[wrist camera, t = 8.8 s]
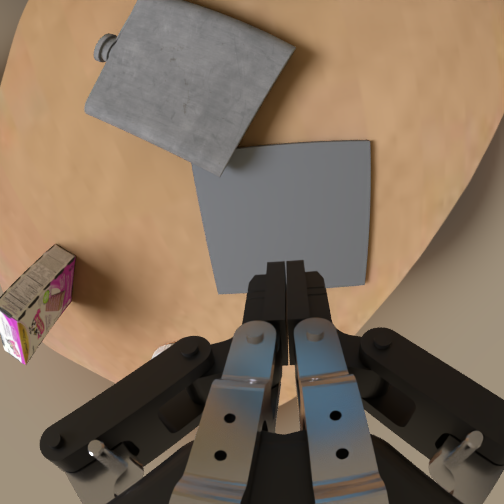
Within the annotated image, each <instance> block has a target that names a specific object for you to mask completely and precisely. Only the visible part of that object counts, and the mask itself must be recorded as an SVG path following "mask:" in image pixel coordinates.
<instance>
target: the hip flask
mask: <svg viewBox="0 0 504 504" xmlns="http://www.w3.org/2000/svg"><path fill="white" fill-rule="evenodd" d="M295 49H296V47H295V46H293V45H291V44H289V43H287V42H285V41H283V40H281V39H279V38H277V37H275V36H273V35H271V34H269V33H267V32H264V31H262V30H260V29H258V28H256V27H253V26H251V25H249V24H247V23H244V22H242V21H239V20H237V19H235V18H232V17H230V16H227V15H224V14H222V13H219V12H216V11H214V10H211V9H208V8H205V7H202V6H199V5H196V4H193V3H190V2H187V1H183V0H137V2H136V4H135V6H134V8H133V10H132V12H131V14H130V16H129V17H128V19H127V21H126V22H125V24H124V26H123V28H122V29H121V31H120V33H119V35H118V37H117V36H116V35H113V34H109V33H108V34H106V35H104V36H103V37H102V38H100V40H99V41H98V43H97V44H96V46H95V49H94V59H95V60H96V61H99V62H105V61H106V64H105V66H104V68H103V70H102V72H101V74H100V76H99V77H98V79H97V81H96V83H95V85H94V87H93V89H92V91H91V93H90V95H89V97H88V99H87V101H86V103H85V113H86V114H88V115H90V116H93V117H95V118H97V119H100V120H102V121H104V122H106V123H109V124H111V125H113V126H115V127H118V128H120V129H122V130H124V131H126V132H128V133H131V134H133V135H135V136H137V137H139V138H141V139H144V140H146V141H148V142H150V143H152V144H154V145H156V146H158V147H160V148H162V149H165V150H167V151H169V152H171V153H173V154H175V155H177V156H179V157H181V158H183V159H185V160H187V161H189V162H191V163H193V164H195V165H197V166H199V167H201V168H203V169H205V170H207V171H209V172H211V173H213V174H215V175H217V176H219V177H221V175H222V173H223V172H224V170H225V168H226V166H227V164H228V163H229V161H230V159H231V157H232V155H233V154H234V152H235V150H236V148H237V146H238V145H239V143H240V141H241V139H242V138H243V136H244V134H245V132H246V131H247V129H248V127H249V125H250V124H251V122H252V120H253V118H254V117H255V115H256V113H257V111H258V110H259V108H260V106H261V105H262V103H263V101H264V100H265V98H266V96H267V95H268V93H269V91H270V90H271V88H272V86H273V85H274V83H275V81H276V80H277V78H278V76H279V75H280V73H281V72H282V70H283V68H284V67H285V65H286V63H287V62H288V60H289V59H290V57H291V55H292V54H293V52H294V50H295Z"/></svg>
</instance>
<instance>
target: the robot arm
mask: <svg viewBox="0 0 504 504" xmlns="http://www.w3.org/2000/svg"><path fill="white" fill-rule="evenodd" d="M286 273H287V283H286ZM246 298H247V300H246V304H245V310H244V316H243V323H242V325H241V326H240V327H239V328H238V329H237V330H236V331H235V333H234V336H233V337H232V338H231V339H228V340H226V341H223V342H219V343H215V344H211V345H210V343H209V342H208V341H207V340H206V339H205V338H203V337H199V336H189V337H185V338H182V339H180V340H179V341H177V342H176V343H174V344H173V345H171V346H170V347H169V348H167V349H166V350H164V351H163V352H161V353H160V354H158V355H157V356H156V357H154V358H153V359H151V360H150V361H148V362H147V363H145V364H144V365H142V366H141V367H140V368H138V369H137V370H135V371H134V372H132V373H131V374H129V375H128V376H126V377H125V378H123V379H122V380H120V381H119V382H117V383H116V384H114V385H113V386H111V387H110V388H108V389H107V390H105V391H104V392H102V393H101V394H99V395H98V396H96V397H95V398H93V399H92V400H90V401H89V402H87V403H86V404H84V405H83V406H81V407H80V408H78V409H76V410H75V411H73V412H72V413H70V414H69V415H67V416H66V417H64V418H62V419H61V420H59V421H58V422H56V423H55V424H53V425H51V426H50V427H48V428H47V429H46V430H45V431H44V433H43V434H42V436H41V440H40V450H41V452H42V454H43V455H44V457H46V458H47V459H48V460H50V461H51V462H53V463H54V464H55V465H56V466H58V467H59V468H60V469H61V470H62V471H64V472H65V473H66V475H67V477H68V479H69V481H70V482H71V484H72V486H73V488H74V490H75V491H76V493H77V495H78V497H79V498H80V500H81V502H82V503H83V504H483V502H484V501H485V499H486V498H487V496H488V495H489V493H490V492H491V490H492V489H493V487H494V485H495V484H496V482H497V481H498V479H499V477H500V475H501V474H502V472H503V470H504V400H503V399H501V398H500V397H498V396H497V395H495V394H493V393H492V392H490V391H489V390H487V389H486V388H484V387H482V386H481V385H479V384H478V383H476V382H475V381H473V380H471V379H470V378H468V377H467V376H465V375H464V374H462V373H460V372H459V371H457V370H456V369H454V368H452V367H451V366H449V365H448V364H446V363H444V362H443V361H441V360H440V359H438V358H436V357H435V356H433V355H431V354H430V353H428V352H427V351H425V350H424V349H422V348H420V347H419V346H417V345H416V344H414V343H412V342H411V341H409V340H408V339H406V338H404V337H403V336H401V335H400V334H398V333H396V332H395V331H393V330H391V329H388V328H373V329H370V330H368V331H367V332H366V333H365V334H364V335H363V336H362V337H358V336H353V335H348V334H345V333H343V332H341V331H339V330H338V329H337V328H336V327H335V326H334V324H333V323H332V320H331V314H330V308H329V303H328V298H327V292H326V288H325V282H324V278H323V277H322V276H321V275H320V274H319V272H318V271H310V272H305V267H304V260H293V261H286V270H285V261H278V262H267V270H266V274H261V275H255V276H254V277H253V278H252V279H251V281H250V282H249V285H248V293H247V297H246ZM288 339H289V357H290V365H295V382H296V392H297V402H298V411H299V421H300V431H298V432H294V433H290V434H286V435H282V434H276V433H275V427H276V418H277V411H278V403H279V395H280V387H281V378H282V366H284V365H288ZM364 409H365V410H366V411H367V412H368V413H370V414H371V415H372V416H373V417H375V418H376V419H377V420H379V421H380V422H381V423H382V424H384V425H385V426H386V427H388V428H389V429H390V430H391V431H393V432H394V433H395V434H397V435H398V436H399V437H400V438H402V439H403V440H404V441H406V442H407V443H408V444H410V445H411V446H412V447H414V448H415V449H416V450H418V451H419V452H420V453H422V454H423V455H425V456H426V457H427V458H429V459H430V461H429V472H430V475H431V476H432V478H433V479H434V480H435V481H436V482H437V483H436V482H435V481H434V480H433V479H431V478H430V477H429V476H428V475H426V474H425V473H424V472H423V471H421V470H420V469H419V468H417V467H416V466H415V465H414V464H413V463H412V462H410V461H409V460H408V459H407V458H406V457H404V456H403V455H402V454H401V453H400V452H398V451H397V450H396V449H395V448H394V447H392V446H391V445H390V444H389V443H387V442H386V441H384V440H383V439H381V438H379V437H377V436H375V435H372V434H370V432H369V428H368V424H367V420H366V416H365V412H364ZM198 425H199V427H198V430H197V433H196V436H195V440H193V441H191V442H189V443H187V444H186V445H184V446H183V447H181V448H180V449H179V450H177V451H176V452H175V453H174V454H173V455H171V456H170V457H169V458H168V459H166V460H165V461H164V462H162V463H161V464H160V465H159V466H157V467H156V468H155V469H153V470H152V471H151V472H150V473H148V474H147V475H146V476H144V477H143V474H144V468H143V467H144V466H145V465H147V464H148V463H150V462H151V461H152V460H154V459H155V458H157V457H158V456H159V455H161V454H162V453H163V452H165V451H166V450H167V449H169V448H170V447H171V446H173V445H174V444H175V443H177V442H178V441H179V440H181V439H182V438H183V437H184V436H186V435H187V434H188V433H189V432H191V431H192V430H193V429H195V428H196V427H197V426H198ZM142 477H143V478H142Z"/></svg>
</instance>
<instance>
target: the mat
mask: <svg viewBox="0 0 504 504" xmlns="http://www.w3.org/2000/svg"><path fill="white" fill-rule="evenodd" d="M191 164H192V170H193V175H194V181H195V186H196V191H197V196H198V201H199V206H200V211H201V216H202V221H203V226H204V231H205V236H206V241H207V245H208V250H209V255H210V259H211V264H212V269H213V273H214V278H215V282H216V286H217V291H218V294H236V293H248V285H249V282H250V281H251V279H252V278H253V277H254V276H255V275H261V274H266V270H267V262H278V261H285V270H286V261H293V260H304V267H305V272H310V271H318V272H319V274H320V275H321V276H322V277H323V278H324V282H325V288H334V287H347V286H359V285H365V276H366V266H367V253H368V239H369V221H370V189H371V155H370V141H369V140H342V141H316V142H298V143H284V144H272V145H261V146H251V147H242V148H236V150H235V152H234V154H233V155H232V157H231V159H230V161H229V163H228V164H227V166H226V168H225V170H224V172H223V173H222V175H221V177H219V176H217V175H215V174H213V173H211V172H209V171H207V170H205V169H203V168H201V167H199V166H197V165H195V164H193V163H191ZM286 283H287V273H286Z"/></svg>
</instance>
